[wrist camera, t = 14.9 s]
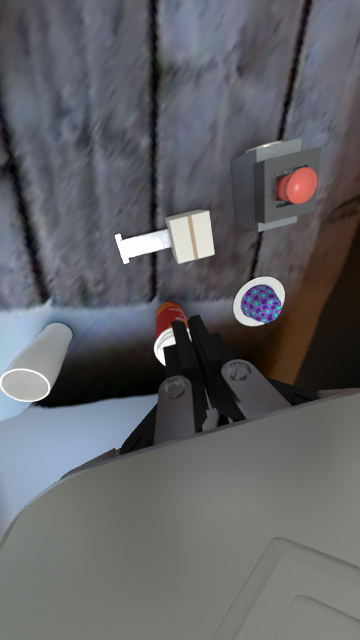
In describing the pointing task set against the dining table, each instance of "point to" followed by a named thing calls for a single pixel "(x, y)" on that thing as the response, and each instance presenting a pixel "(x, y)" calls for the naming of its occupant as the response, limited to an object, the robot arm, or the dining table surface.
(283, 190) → the button
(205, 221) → the white taped box
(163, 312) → the paper cup
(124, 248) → the rail
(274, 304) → the purple patterned hat
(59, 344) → the drinking glass
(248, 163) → the cabinet
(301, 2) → the dining table surface
